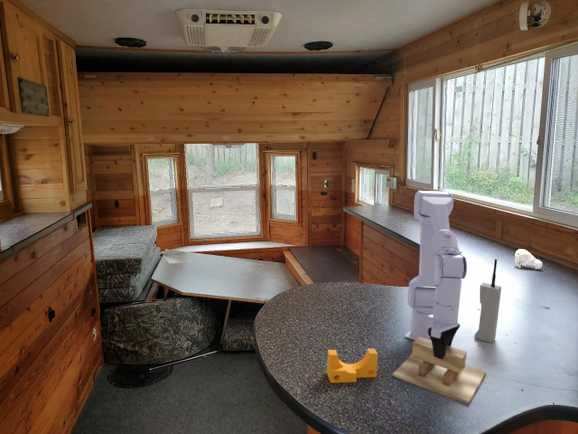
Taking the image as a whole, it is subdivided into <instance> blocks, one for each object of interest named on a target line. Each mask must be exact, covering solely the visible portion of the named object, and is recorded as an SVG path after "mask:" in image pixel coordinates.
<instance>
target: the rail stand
mask: <svg viewBox="0 0 578 434" xmlns="http://www.w3.org/2000/svg"><path fill="white" fill-rule="evenodd" d="M486 374H487V371H486V370H483V369H479V368H476V367H474V366H470V365H467V364H465V367H464V369H463V371H462V372H461V374H460V373H457V372H455V371H452V370H449V369H446V368H443V367H440V366H437V365H434V364H431V363H429V362H426V361H423V360H420V359H417V358H414V357H412V354H410V355H409V356H408V357H407V358H406V359H405V360H404V362H402V363H401V365H400V366H399V367H398V368H397V369H396V370H394V372H393V373H392V377H394V378H397V379H399V380H402V381H404V382H406V383H407V382H408V383H410V384H413V385H416V386H418V387H420V388H423V389H425V390H429V391H431V392H433V393H436V394H439V395H442V396H445V397H447V398H450V399H453V400H455V401H457V402H460V403H463V404H464V405H467V406H468V405H469V404H470V403H471V401H472V399H473V398H474V396H475V394H476V392H477V391H478V388H479V387H480V385H481V383H482V382H483V380H484V379H485V376H486Z"/></svg>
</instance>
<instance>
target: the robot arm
mask: <svg viewBox="0 0 578 434" xmlns="http://www.w3.org/2000/svg"><path fill="white" fill-rule="evenodd" d="M414 194H415V195H414V201H413V215H414V216H413V217H414V219H415V220H418V221H419V225H420V235H419V236H420V237H419V238H420V239H419V265H418V266H419V267H418V275H417V276H416V277H414V278H412V279H411V280H410V281H409V283H408V289H407V290H408V291H407V305H408V306H409V308H412V309H411V321H410V331H408V332H407V333H406V334H405V335H404V336H405V338H407V339H409V340H410V339H411V340H413V341H415V340H416V339H417V338H418V337H422V338H425V339H428V340H431V342H432V346H433V352H434V357H436V358H439V359H443V358H444V356H445V353H446V349H447V346H450V347H452V343H453V341H454V338H455V336H456V333H457V331H458V330H459V329H460V327H461V325H460V323H459V319H458V318H459V310H460V300H461V299H460V298H461V290H462V281H463V280H464V279H465V278H466V276H467V272H468V263H467V258H466V255H465V254H463V252H462V251H460V247H459V244H458V240H457V236H456V234H455V233H454V232H453V231H451V230H450V229H451V227H450V219H449V216H450V215H451V213H452V211H453V208H454V199H455V198H454V195H453V193H452V192H451V191H431V190H430V191H428V190H427V191H425V190H417V192H416V193H414ZM462 279H463V280H462Z"/></svg>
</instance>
